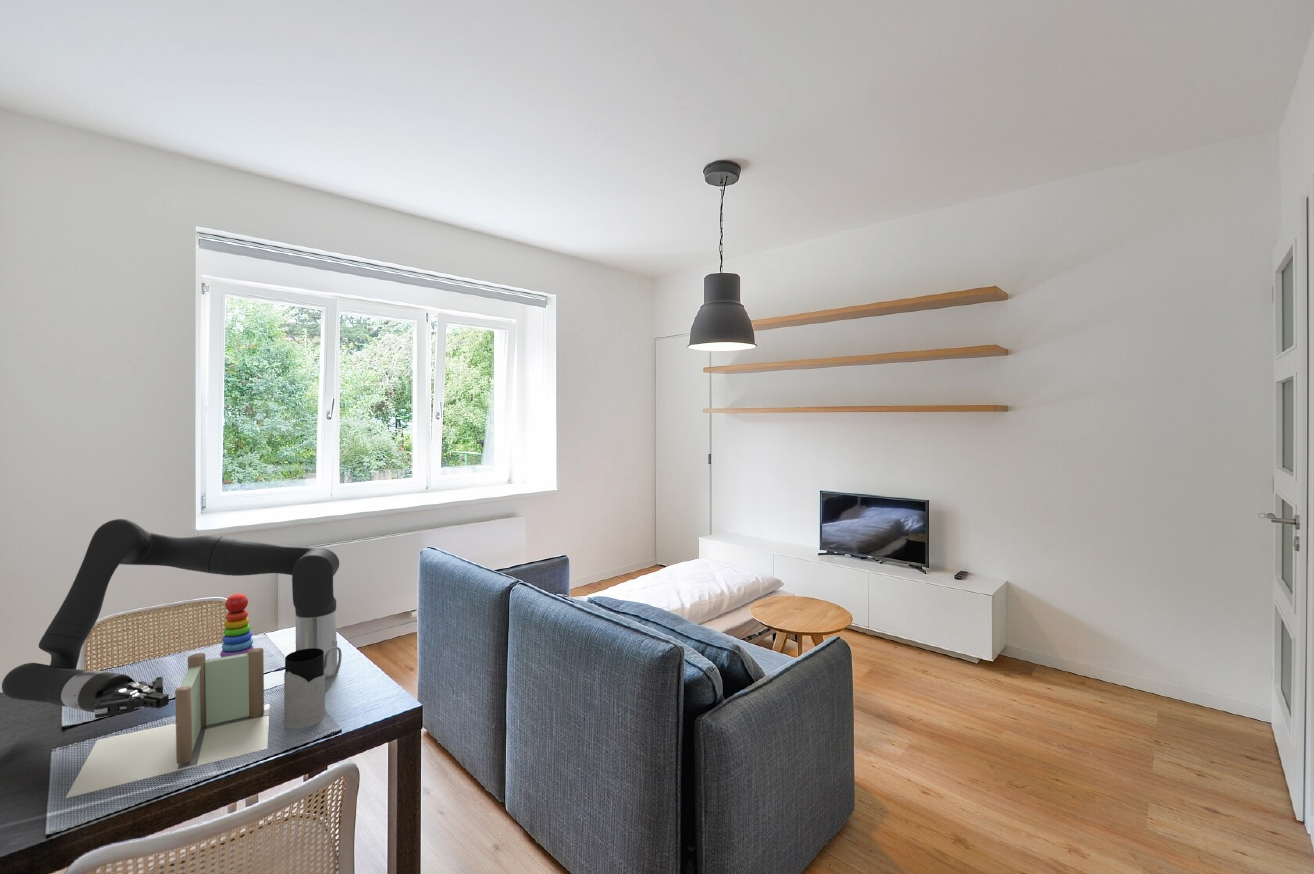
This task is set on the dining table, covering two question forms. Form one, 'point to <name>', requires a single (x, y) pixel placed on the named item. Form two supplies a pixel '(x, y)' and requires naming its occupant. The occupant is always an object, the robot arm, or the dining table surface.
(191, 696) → the fence panel
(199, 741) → the card
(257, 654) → the fixed fence
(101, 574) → the robot arm
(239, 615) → the stacking toy
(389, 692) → the dining table surface
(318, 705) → the grey and black mug
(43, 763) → the dining table surface
